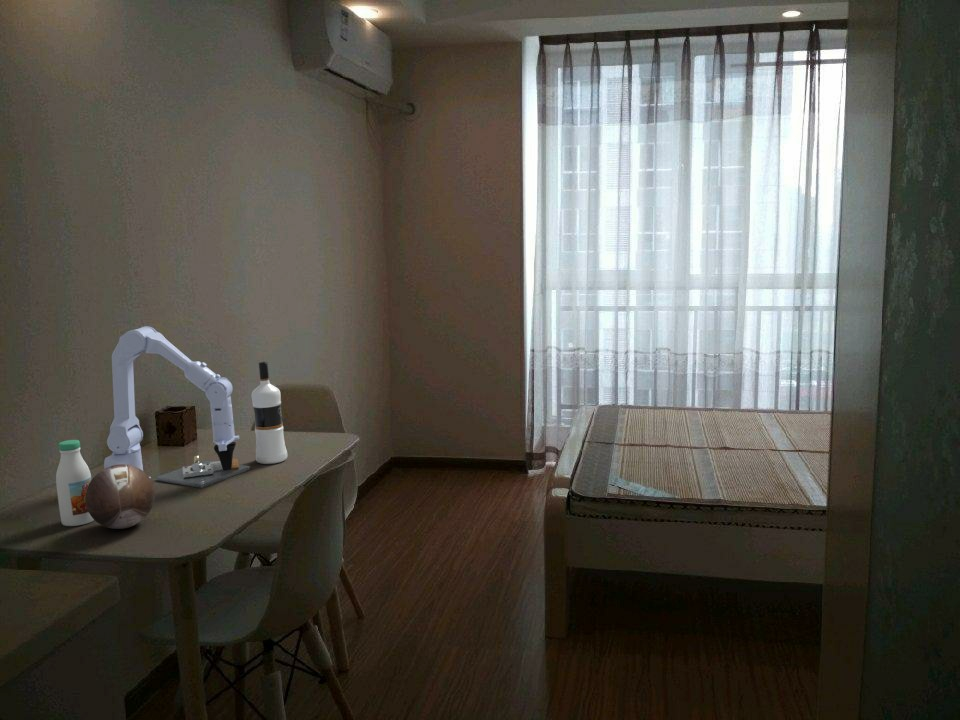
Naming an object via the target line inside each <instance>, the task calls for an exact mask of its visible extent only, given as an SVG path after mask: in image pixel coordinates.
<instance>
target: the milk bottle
mask: <svg viewBox="0 0 960 720" xmlns="http://www.w3.org/2000/svg"><path fill="white" fill-rule="evenodd" d="M81 449H82V448H81V442H80V440H79V439H68V440H64V441H61V442H59V443H58V450H59V451H58V452H59V453H60V459H59V463H58V465H57V466H58V467H57V470H56V475H55V483H56V485H55V486H56V491H57V492H56V493H57V502H58V509H59V515H60V521H61V525H63V526H65V527H77V526H82V525H87V524H89V523H91V522H94V521H95V520H94V519H93V518H92V517H91V515H90V514H89V512H88V510H87V507H86V502H85V496H86V490H87V487H88V485H89V483H90V482H91V480H92V479H93V478H92V474H91V470H90V468H89V466H88V464H87V463H86V461H85V460H84V459H83V456H82V454H81Z"/></svg>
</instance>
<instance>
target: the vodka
mask: <svg viewBox="0 0 960 720" xmlns="http://www.w3.org/2000/svg"><path fill="white" fill-rule="evenodd" d="M268 365H269V363H268V361H260V362H258V369H259V370H258V372H259V380H260V382H259V383H260V384H259V385H258V386H257V387H256V388H254V389H253V390H252V392H251V395H250V397H251V401H252V408H253V409H252V410H253V420H254V432H255V444H256V445H255V461H256V462H257V463H259V464H261V465H273V464H280V463H281V462H284V461H286V460H287V458H288V457H289V456H288V450H287V448H286V444H285V443H286V441H285V437H284V436H285V435H284V425H283V415H282V399H281V397H282V396H281V394H282V393H281V391H280V389H279V388H278V387H276V386H275V385H273V384H271V382H270V375H269V366H268Z"/></svg>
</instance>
